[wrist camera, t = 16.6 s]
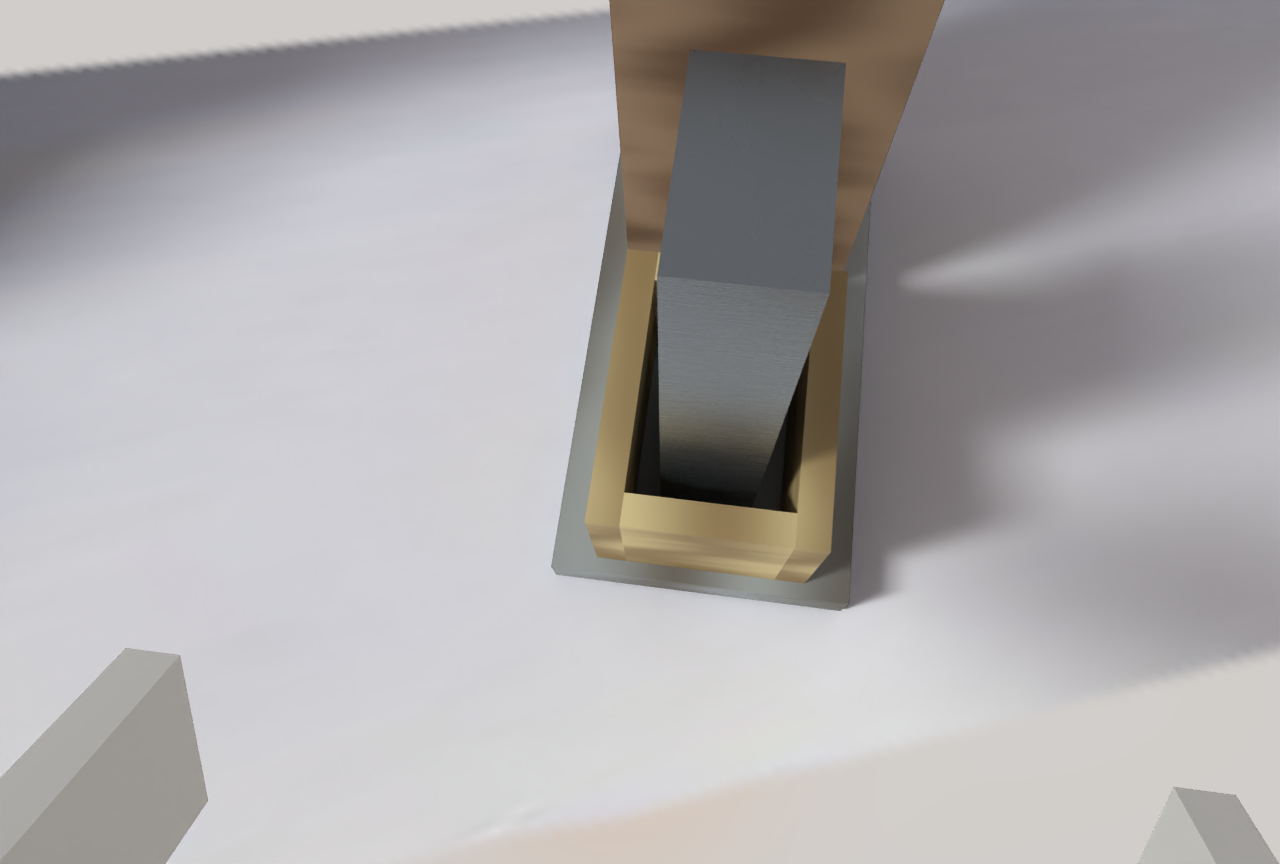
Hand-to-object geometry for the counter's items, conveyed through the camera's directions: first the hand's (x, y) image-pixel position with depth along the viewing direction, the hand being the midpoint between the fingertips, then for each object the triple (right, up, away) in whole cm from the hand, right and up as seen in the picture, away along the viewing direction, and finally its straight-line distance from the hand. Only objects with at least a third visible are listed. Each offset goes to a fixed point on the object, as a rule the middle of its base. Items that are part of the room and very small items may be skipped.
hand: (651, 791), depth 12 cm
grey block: (+2, +4, +19) cm, 20 cm away
